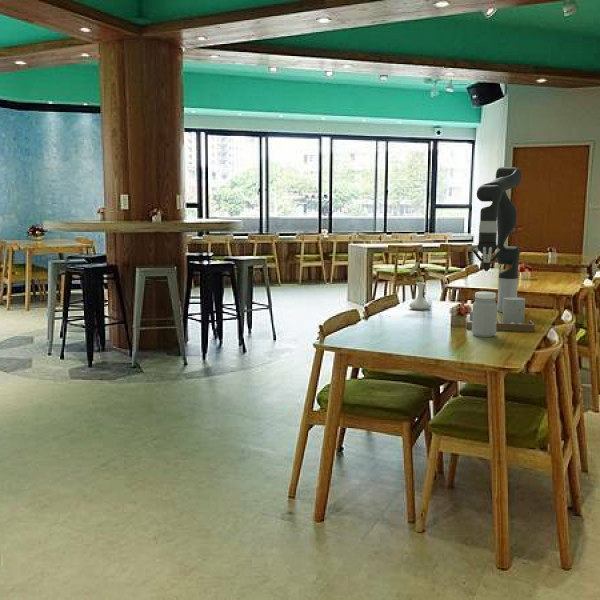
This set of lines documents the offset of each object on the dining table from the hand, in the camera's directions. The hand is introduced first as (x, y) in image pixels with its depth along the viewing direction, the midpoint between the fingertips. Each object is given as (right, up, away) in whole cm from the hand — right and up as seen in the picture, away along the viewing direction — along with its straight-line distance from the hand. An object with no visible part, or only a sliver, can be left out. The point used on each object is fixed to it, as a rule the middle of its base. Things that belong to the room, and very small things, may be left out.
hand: (486, 270), depth 285 cm
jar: (-5, -28, -13) cm, 31 cm away
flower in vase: (-20, -18, +53) cm, 59 cm away
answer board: (+6, -25, +2) cm, 26 cm away
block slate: (+1, -22, +24) cm, 32 cm away
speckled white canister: (+15, -24, +9) cm, 30 cm away
